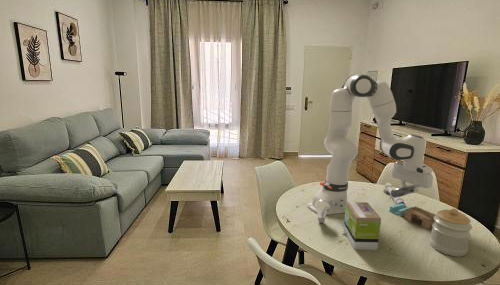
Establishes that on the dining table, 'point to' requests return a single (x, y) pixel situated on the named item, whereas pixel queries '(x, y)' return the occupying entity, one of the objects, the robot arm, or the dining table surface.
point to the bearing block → (416, 213)
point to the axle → (402, 191)
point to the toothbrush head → (388, 190)
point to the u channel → (398, 209)
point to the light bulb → (322, 209)
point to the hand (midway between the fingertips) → (409, 190)
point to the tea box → (362, 225)
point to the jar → (451, 232)
